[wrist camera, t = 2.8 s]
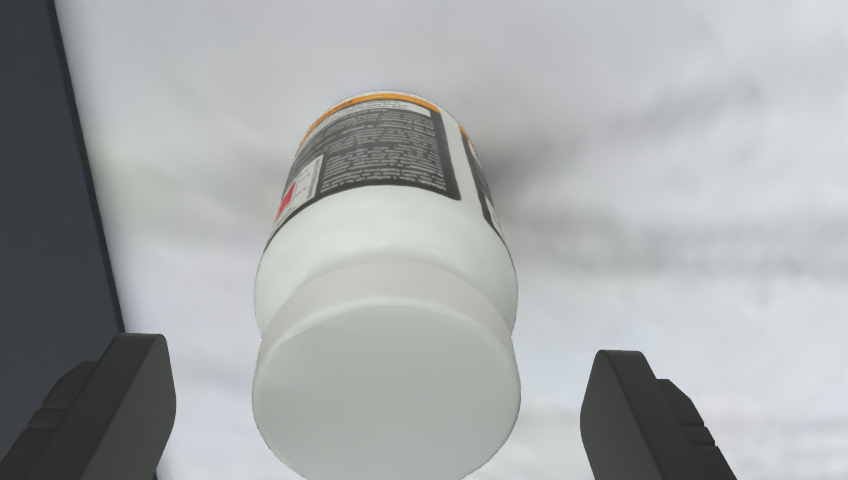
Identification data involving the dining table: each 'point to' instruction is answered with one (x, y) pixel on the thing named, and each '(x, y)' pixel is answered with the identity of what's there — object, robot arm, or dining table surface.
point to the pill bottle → (386, 301)
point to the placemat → (45, 223)
